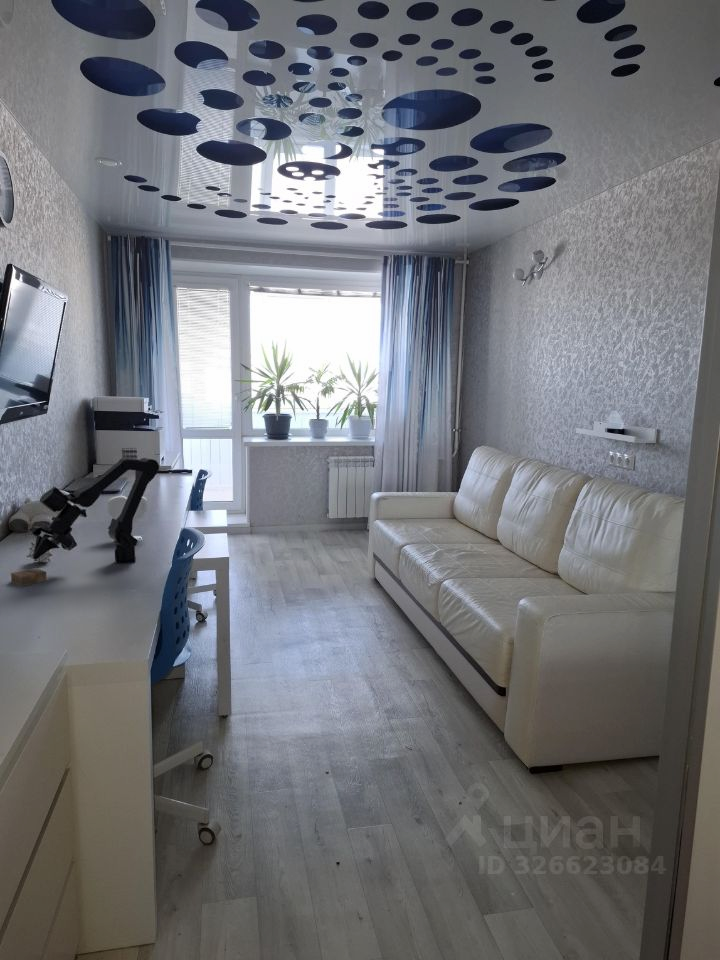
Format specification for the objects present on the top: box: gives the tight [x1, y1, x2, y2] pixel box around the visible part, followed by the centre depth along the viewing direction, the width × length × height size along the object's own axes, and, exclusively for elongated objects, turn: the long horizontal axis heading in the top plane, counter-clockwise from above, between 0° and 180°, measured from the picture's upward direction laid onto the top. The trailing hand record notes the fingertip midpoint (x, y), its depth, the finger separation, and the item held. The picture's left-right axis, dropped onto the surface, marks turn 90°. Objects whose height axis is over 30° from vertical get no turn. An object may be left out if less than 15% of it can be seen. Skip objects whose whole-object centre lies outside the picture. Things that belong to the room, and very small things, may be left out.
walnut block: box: [10, 567, 47, 587], centre depth 211 cm, size 3×7×8 cm
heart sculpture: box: [106, 495, 148, 540], centre depth 267 cm, size 16×5×18 cm, turn 107°
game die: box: [26, 542, 53, 565], centre depth 231 cm, size 9×8×10 cm
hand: (34, 558), depth 212 cm, fingers closed
